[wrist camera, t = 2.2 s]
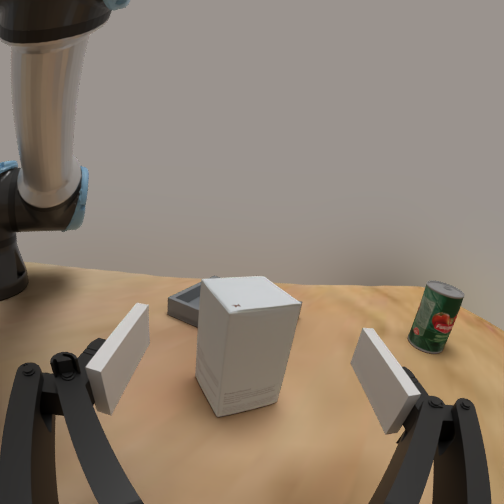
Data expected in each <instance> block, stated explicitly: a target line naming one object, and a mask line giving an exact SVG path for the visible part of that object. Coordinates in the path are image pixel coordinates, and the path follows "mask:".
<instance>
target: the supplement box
mask: <svg viewBox="0 0 504 504" xmlns="http://www.w3.org/2000/svg"><path fill="white" fill-rule="evenodd" d="M300 307H301V303H300V302H299V301H297V300H296V299H294V298H293V297H292V296H290V295H289V294H287V293H286V292H285V291H283V290H282V289H281V288H279V287H278V286H276V285H275V284H274V283H272V282H271V281H269V280H268V279H267V278H266V277H264V276H253V277H233V278H213V279H202V280H201V290H200V302H199V317H198V335H197V355H196V374H195V376H196V378H197V380H198V382H199V384H200V386H201V388H202V390H203V392H204V394H205V396H206V398H207V400H208V401H209V403H210V405H211V407H212V409H213V411H214V412H215V414H216V416H217V417H221V416H225V415H230V414H235V413H239V412H243V411H247V410H252V409H255V408H259V407H263V406H266V405H270V404H273V403H276V402H277V400H278V397H279V393H280V389H281V386H282V382H283V378H284V374H285V370H286V366H287V362H288V358H289V354H290V350H291V346H292V342H293V338H294V333H295V329H296V325H297V320H298V316H299V311H300Z"/></svg>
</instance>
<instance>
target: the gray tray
mask: <svg viewBox="0 0 504 504" xmlns="http://www.w3.org/2000/svg"><path fill="white" fill-rule="evenodd" d="M213 278H220V277H217V276H212V277H210V278H208V279H213ZM200 290H201V282H200V283H198V284H196V285H193V286H191V287H189V288H187V289H185V290H183V291H181V292H179V293H177V294H175V295H172V296H170V297H168V315H170V316H173V317H175V318H177V319H179V320H182V321H184V322H186V323H189V324H191V325H193V326H196V327H198V317H199V302H200ZM299 302H300V301H299ZM300 303H301V306H302V302H300ZM300 310H301V307H300ZM299 314H300V311H299ZM298 318H299V316H298Z"/></svg>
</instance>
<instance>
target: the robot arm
mask: <svg viewBox="0 0 504 504" xmlns="http://www.w3.org/2000/svg"><path fill="white" fill-rule="evenodd" d="M129 2H130V0H0V40H1V41H2V42H3V43H5V44H7V45H9V46H11V88H12V104H13V115H14V123H15V131H16V138H17V144H18V150H19V155H20V160H21V166H22V167H21V168H18V164H17V161H6V162H2V163H0V300H2V299H6V298H9V297H11V296H14V295H16V294H17V293H19V292H21V291H22V290H23V289H24V288H25V287H26V286H27V284H28V275H27V269H26V267H25V264H24V262H23V259H22V257H21V254H20V251H19V249H18V246H17V240H16V232H29V231H62V232H65V231H67V230H76V229H78V228H79V227H80V226H81V225H82V222H83V219H84V214H85V205H86V199H87V191H88V179H89V173H88V170H87V168H85V167H82V166H80V164H79V161H78V160H77V158H76V157H75V156H74V155H73V138H74V125H75V114H76V104H77V97H78V90H79V83H80V77H81V71H82V66H83V61H84V56H85V51H86V47H87V43H88V38H89V35H90V34H91V33H93V32H95V31H96V30H98V29H99V28H101V27H102V26H103V25H105V24H106V22H107V21H108V19H109V16H110V14H111V11H112V10H117V9H121V8H125V7H126V6H127V5H128V4H129ZM149 344H150V337H149V305H146V304H140V303H136V304H135V306H134V307H133V308H132V309H131V310H130V312H129V313H128V314H127V315H126V316H125V318H124V319H123V320H122V321H121V323H120V324H119V325H118V326H117V327H116V329H115V330H114V331H113V332H112V334H111V335H110V336H109V337H108V339H107V340H105V339H101V338H98V339H96V340H94V341H92V342H91V343H90V344H89V345H88V347H87V349H85V350H84V351H83V353H82V354H81V355H80V356H79V357H78V358H77V357H76V356H75V355H74V354H72V353H69V352H61V353H57V354H56V355H54V356H53V357H52V358H51V361H50V364H51V367H52V370H53V374H50V373H42V371H41V368H40V367H39V365H37V364H35V363H25V364H22V365H21V366H20V367H19V368H18V370H17V372H16V376H15V379H14V383H13V387H12V391H11V395H10V399H9V404H8V409H7V414H6V419H5V425H4V431H3V437H2V445H1V454H0V504H59V502H58V493H57V483H56V469H55V415H62V416H64V417H65V421H66V424H67V427H68V430H69V434H70V437H71V440H72V442H73V445H74V448H75V451H76V454H77V456H78V459H79V461H80V464H81V466H82V469H83V471H84V474H85V476H86V478H87V481H88V483H89V485H90V487H91V489H92V491H93V494H94V496H95V498H96V500H97V502H98V504H144V503H143V502H142V500H141V499H140V497H139V496H138V494H137V493H136V491H135V489H134V488H133V486H132V485H131V483H130V481H129V479H128V478H127V476H126V474H125V472H124V471H123V469H122V467H121V465H120V463H119V462H118V460H117V458H116V456H115V454H114V452H113V450H112V448H111V446H110V444H109V442H108V440H107V438H106V435H105V433H104V431H103V429H102V427H101V424H100V422H99V420H98V417H97V415H96V413H95V410H94V408H93V405H94V403H95V405H96V409H97V411H99V412H102V413H105V414H108V415H112V413H113V411H114V409H115V407H116V405H117V404H118V402H119V400H120V398H121V396H122V394H123V392H124V390H125V388H126V386H127V384H128V382H129V381H130V379H131V377H132V375H133V373H134V371H135V369H136V368H137V366H138V364H139V362H140V360H141V358H142V357H143V355H144V353H145V351H146V349H147V347H148V346H149ZM351 365H352V367H353V369H354V371H355V373H356V375H357V377H358V379H359V381H360V383H361V385H362V387H363V389H364V391H365V393H366V395H367V397H368V399H369V401H370V403H371V406H372V408H373V410H374V412H375V414H376V416H377V418H378V420H379V422H380V424H381V426H382V428H383V431H384V433H385V435H386V434H392V433H398V431H399V430H400V428H401V426H402V425H403V426H404V428H405V431H404V432H403V434H402V435H401V437H400V438H399V440H398V441H397V442H396V443H397V444H398V446H397V448H396V450H395V453H394V455H393V457H392V459H391V461H390V464H389V466H388V468H387V470H386V472H385V474H384V476H383V478H382V480H381V482H380V484H379V486H378V487H377V489H376V491H375V493H374V495H373V497H372V498H371V500H370V502H369V503H368V504H419V502H420V499H421V497H422V494H423V491H424V488H425V486H426V483H427V480H428V476H429V473H430V470H431V467H432V463H433V460H434V481H433V501H432V504H491V491H490V482H489V473H488V466H487V460H486V454H485V449H484V444H483V439H482V434H481V430H480V425H479V421H478V417H477V414H476V410H475V406H474V404H473V403H472V402H471V401H470V400H468V399H465V398H460V399H458V400H457V401H456V403H455V404H454V405H445V404H444V402H443V401H442V400H441V399H440V398H438V397H435V396H429V395H428V394H427V392H426V391H425V390H424V388H423V387H422V385H421V384H420V383H418V382H419V381H418V380H417V379H416V378H415V376H414V375H413V373H412V372H411V371H410V370H409V369H407V368H406V367H401V365H400V364H399V363H398V361H397V360H396V359H395V357H394V356H393V355H392V353H391V352H390V350H389V349H388V348H387V346H386V345H385V344H384V342H383V341H382V340H381V338H380V337H379V336H378V335H377V333H376V332H375V331H374V329H373V328H362V331H361V334H360V337H359V340H358V343H357V346H356V349H355V352H354V355H353V358H352V360H351Z"/></svg>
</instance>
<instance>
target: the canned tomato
mask: <svg viewBox="0 0 504 504" xmlns="http://www.w3.org/2000/svg"><path fill="white" fill-rule="evenodd" d="M463 298H464V293H463V292H462V291H460V290H459V289H457V288H456V287H454V286H451V285H449V284H446V283H443V282H439V281H428V282H427V284H426V288H425V291H424V294H423V297H422V300H421V303H420V306H419V308H418V311H417V314H416V317H415V319H414V323H413V325H412V328H411V330H410V333H409V335H408V340H409V342H410V344H411V345H412V346H414V347H415V348H417V349H418V350H421V351H423V352H426V353H431V354H437V353H440V352H442V351H443V348H444V346H445V343H446V341H447V339H448V337H449V334H450V332H451V330H452V327H453V325H454V322H455V319H456V317H457V314H458V312H459V309H460V306H461V303H462V300H463Z"/></svg>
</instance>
